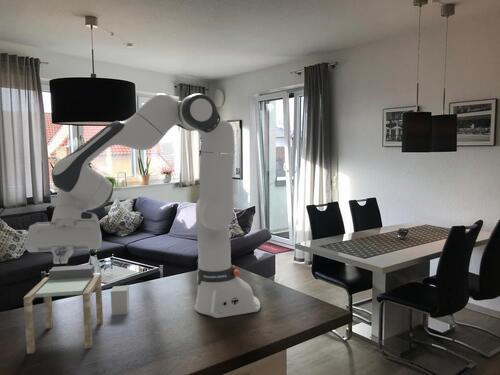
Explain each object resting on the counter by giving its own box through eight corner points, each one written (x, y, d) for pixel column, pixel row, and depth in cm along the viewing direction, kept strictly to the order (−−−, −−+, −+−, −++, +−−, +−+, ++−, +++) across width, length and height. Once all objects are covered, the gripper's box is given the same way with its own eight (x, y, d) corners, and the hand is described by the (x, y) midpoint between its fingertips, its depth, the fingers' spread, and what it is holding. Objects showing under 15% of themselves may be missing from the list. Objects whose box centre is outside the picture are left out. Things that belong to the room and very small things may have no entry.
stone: (129, 308, 136) (128, 285, 136) (127, 314, 131) (126, 290, 131) (114, 309, 135) (113, 286, 135) (111, 315, 131) (110, 291, 130)
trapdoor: (94, 276, 125) (94, 264, 125) (82, 294, 109) (81, 281, 109) (53, 278, 123) (53, 267, 123) (35, 297, 107) (34, 284, 107)
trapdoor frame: (102, 322, 125) (100, 274, 124) (91, 348, 109) (88, 293, 107) (47, 326, 123) (44, 277, 121) (27, 353, 106) (23, 297, 105)
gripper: (27, 216, 114) (15, 258, 106) (101, 214, 118) (96, 254, 109) (33, 228, 119) (22, 270, 110) (105, 226, 123) (100, 266, 114)
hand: (60, 262), depth 110 cm, fingers closed
